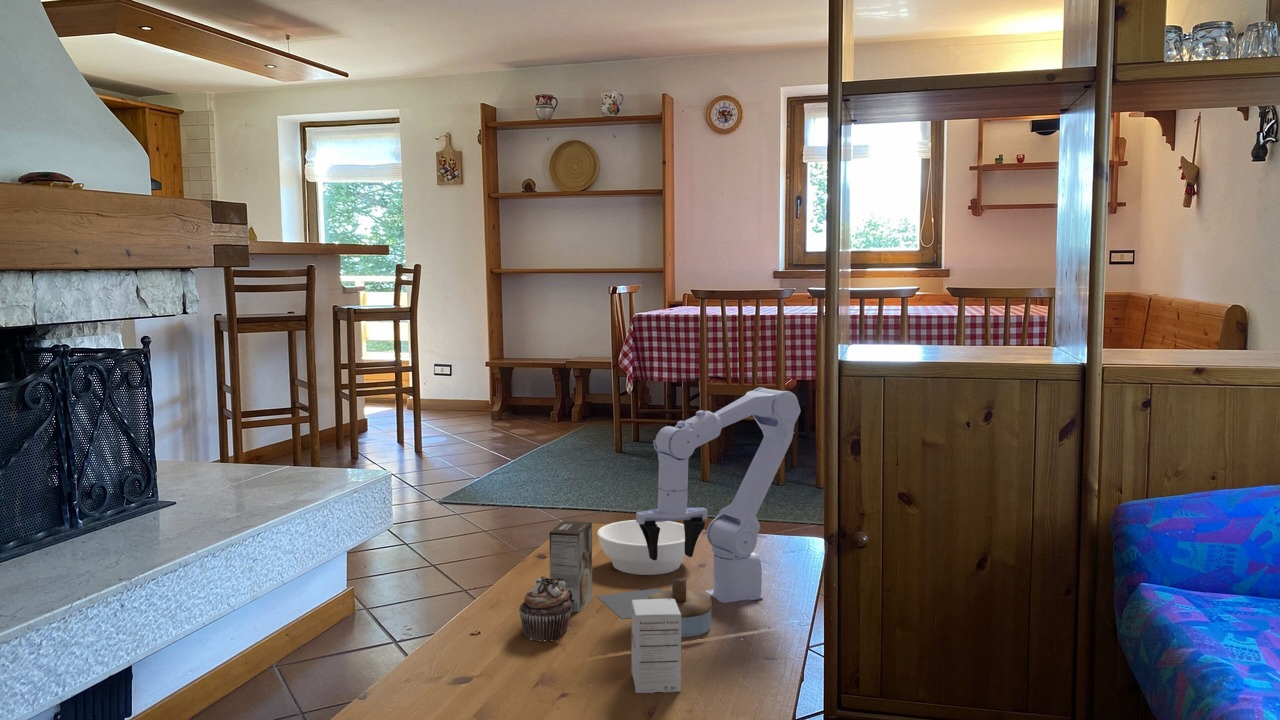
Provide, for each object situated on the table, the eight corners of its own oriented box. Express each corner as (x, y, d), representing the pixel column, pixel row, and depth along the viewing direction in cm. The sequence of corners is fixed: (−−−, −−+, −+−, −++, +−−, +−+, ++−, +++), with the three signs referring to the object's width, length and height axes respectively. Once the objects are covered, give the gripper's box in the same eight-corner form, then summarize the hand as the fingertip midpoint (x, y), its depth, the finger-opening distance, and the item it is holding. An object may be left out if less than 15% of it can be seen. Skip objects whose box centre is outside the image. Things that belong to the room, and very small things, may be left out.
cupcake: (523, 623, 170) (523, 571, 169) (574, 624, 170) (574, 572, 169) (514, 643, 160) (514, 587, 160) (568, 644, 160) (568, 588, 159)
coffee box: (562, 597, 185) (562, 519, 184) (592, 599, 183) (592, 521, 182) (548, 612, 176) (548, 531, 175) (580, 615, 174) (580, 533, 173)
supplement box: (630, 674, 148) (630, 598, 147) (675, 673, 148) (676, 597, 147) (634, 694, 140) (634, 614, 139) (681, 692, 141) (682, 613, 140)
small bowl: (694, 614, 175) (694, 594, 175) (721, 634, 165) (721, 612, 165) (642, 622, 171) (642, 601, 171) (666, 643, 161) (666, 621, 160)
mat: (659, 590, 189) (659, 587, 189) (688, 612, 176) (688, 609, 176) (596, 599, 184) (596, 596, 184) (621, 622, 171) (621, 619, 171)
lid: (687, 591, 177) (688, 566, 176) (724, 610, 166) (724, 583, 166) (634, 601, 170) (635, 575, 170) (669, 621, 160) (669, 594, 160)
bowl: (661, 548, 221) (662, 515, 220) (716, 573, 202) (716, 536, 201) (579, 562, 209) (579, 526, 209) (628, 589, 190) (629, 550, 189)
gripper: (697, 482, 183) (695, 548, 184) (630, 486, 177) (629, 554, 178) (713, 489, 176) (711, 558, 177) (644, 493, 171) (643, 564, 172)
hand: (671, 557), depth 177 cm, fingers open, 7 cm apart
